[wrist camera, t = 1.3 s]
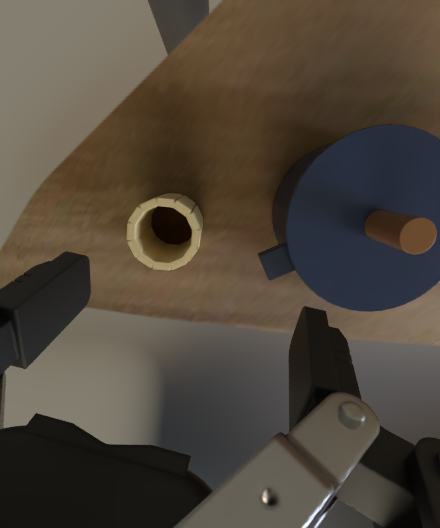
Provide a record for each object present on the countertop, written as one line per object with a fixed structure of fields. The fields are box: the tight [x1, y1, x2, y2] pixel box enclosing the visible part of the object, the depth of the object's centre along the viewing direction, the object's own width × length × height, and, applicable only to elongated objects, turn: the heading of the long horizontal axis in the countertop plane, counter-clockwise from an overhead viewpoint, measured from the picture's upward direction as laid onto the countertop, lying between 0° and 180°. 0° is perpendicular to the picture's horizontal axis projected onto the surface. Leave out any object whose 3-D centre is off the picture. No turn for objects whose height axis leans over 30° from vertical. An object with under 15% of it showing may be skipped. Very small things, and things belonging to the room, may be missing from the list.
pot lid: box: [285, 124, 440, 311], centre depth 24 cm, size 15×15×6 cm
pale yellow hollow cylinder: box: [127, 193, 203, 270], centre depth 31 cm, size 6×6×8 cm
